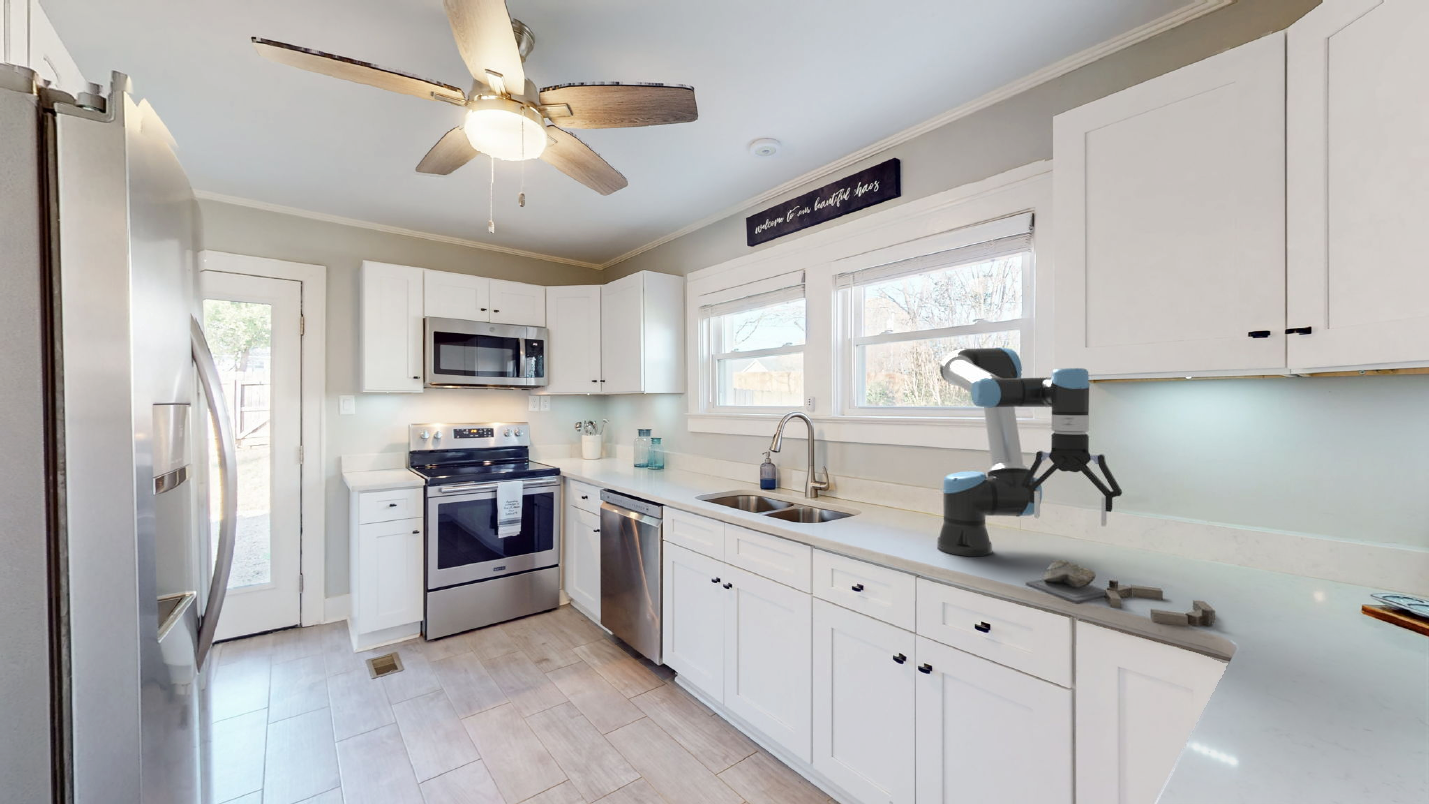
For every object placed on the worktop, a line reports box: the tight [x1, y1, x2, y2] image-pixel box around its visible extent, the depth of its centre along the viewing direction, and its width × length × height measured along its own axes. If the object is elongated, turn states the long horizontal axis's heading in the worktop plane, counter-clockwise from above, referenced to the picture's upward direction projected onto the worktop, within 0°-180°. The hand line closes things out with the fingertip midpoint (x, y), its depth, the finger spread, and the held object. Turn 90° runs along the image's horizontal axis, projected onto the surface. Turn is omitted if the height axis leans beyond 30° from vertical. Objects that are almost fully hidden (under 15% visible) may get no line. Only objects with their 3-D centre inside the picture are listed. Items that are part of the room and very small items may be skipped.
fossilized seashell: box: [1042, 559, 1096, 588], centre depth 133 cm, size 11×11×7 cm
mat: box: [1025, 579, 1106, 604], centre depth 133 cm, size 13×13×1 cm
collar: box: [1104, 579, 1216, 628], centre depth 121 cm, size 20×17×3 cm
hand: (1069, 521), depth 133 cm, fingers open, 13 cm apart
